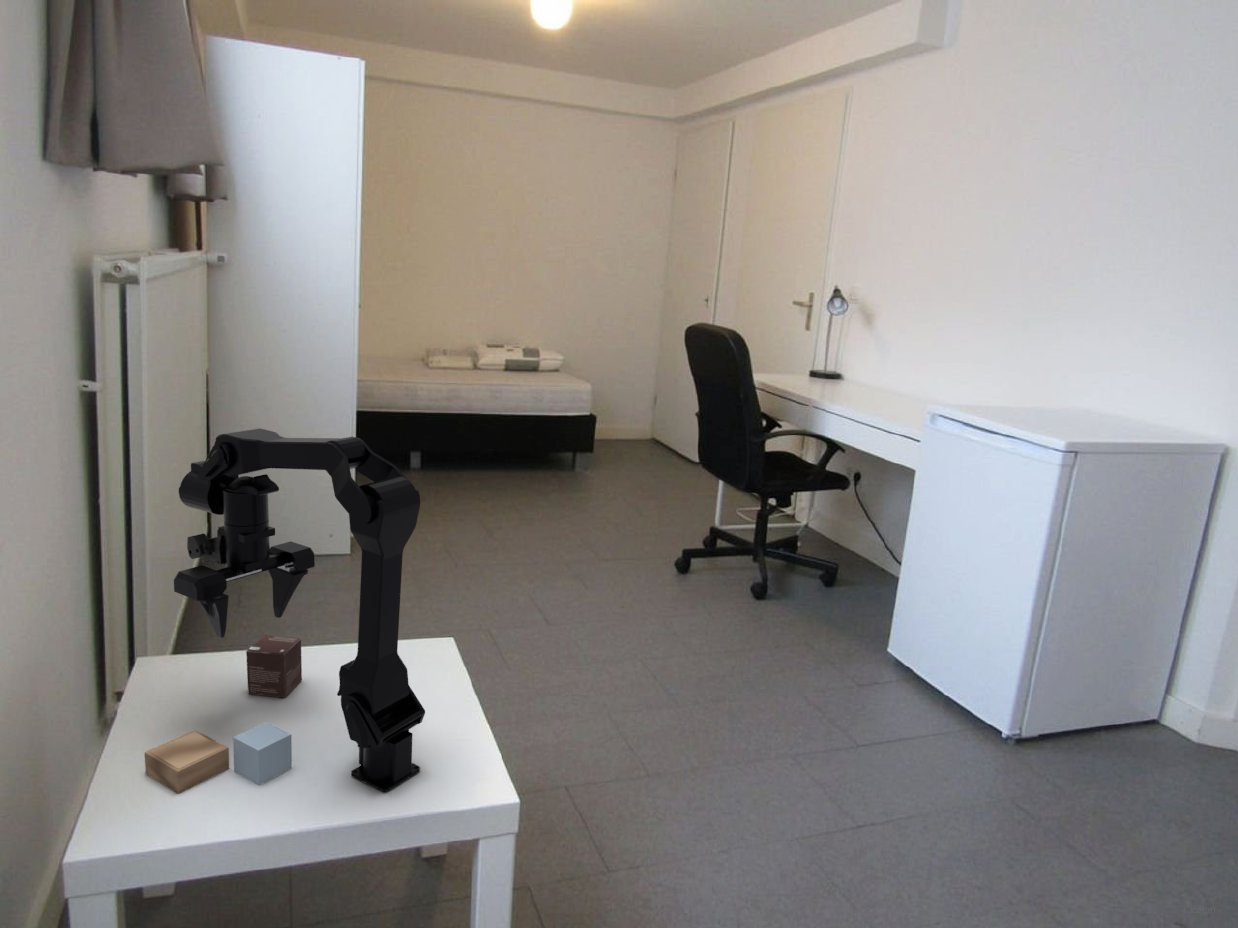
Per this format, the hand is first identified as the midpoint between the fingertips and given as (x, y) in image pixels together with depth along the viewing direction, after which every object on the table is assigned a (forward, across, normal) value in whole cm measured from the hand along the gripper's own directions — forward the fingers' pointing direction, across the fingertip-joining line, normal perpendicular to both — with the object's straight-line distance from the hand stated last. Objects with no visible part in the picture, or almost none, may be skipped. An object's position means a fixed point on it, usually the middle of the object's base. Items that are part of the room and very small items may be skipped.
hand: (250, 626), depth 125 cm
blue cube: (+14, +8, +12) cm, 20 cm away
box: (+14, -7, -5) cm, 17 cm away
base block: (+14, +14, +5) cm, 20 cm away
